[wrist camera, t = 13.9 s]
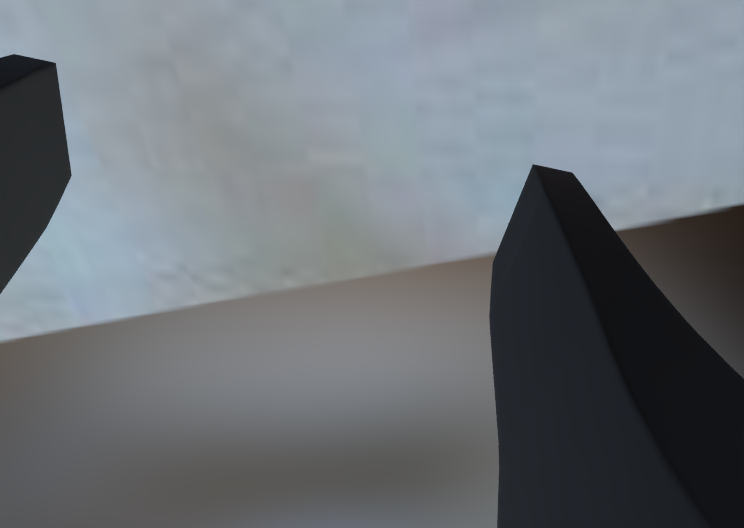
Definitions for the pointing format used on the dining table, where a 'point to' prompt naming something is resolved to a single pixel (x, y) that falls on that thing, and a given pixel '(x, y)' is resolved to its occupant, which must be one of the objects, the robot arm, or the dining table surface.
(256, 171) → the dining table surface
